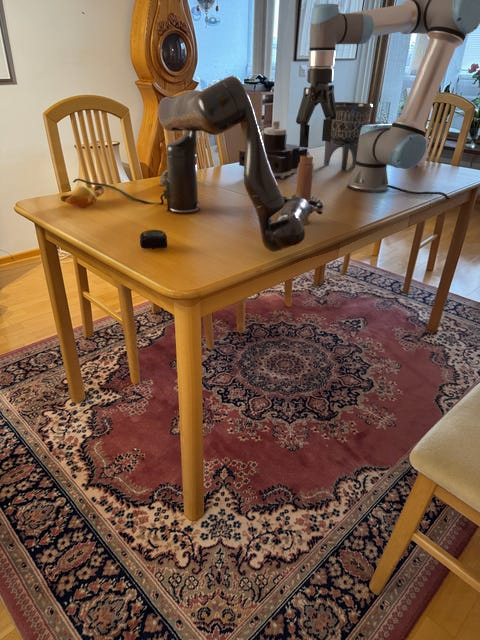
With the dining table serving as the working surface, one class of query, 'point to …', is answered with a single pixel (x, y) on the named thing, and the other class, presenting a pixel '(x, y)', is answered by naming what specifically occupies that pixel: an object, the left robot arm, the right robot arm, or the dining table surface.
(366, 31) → the right robot arm
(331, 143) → the planter
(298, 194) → the pinkish brown rounded rod
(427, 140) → the figurine
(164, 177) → the rock
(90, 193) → the toy
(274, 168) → the mechanical component
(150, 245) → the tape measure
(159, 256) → the dining table surface
